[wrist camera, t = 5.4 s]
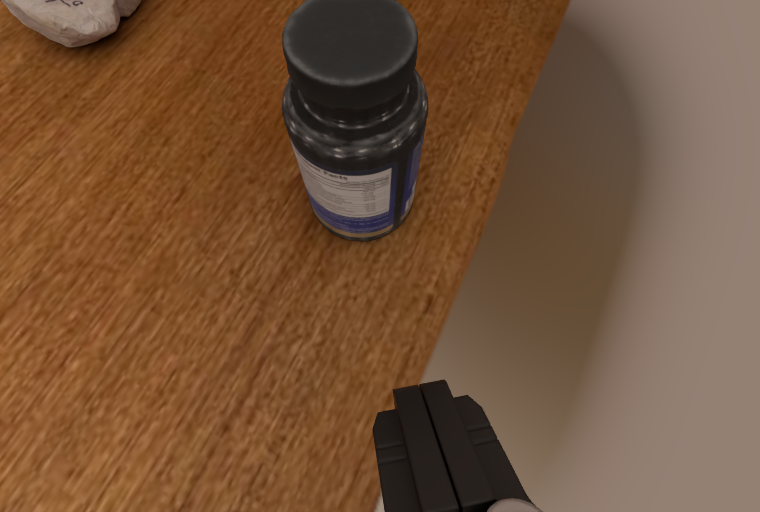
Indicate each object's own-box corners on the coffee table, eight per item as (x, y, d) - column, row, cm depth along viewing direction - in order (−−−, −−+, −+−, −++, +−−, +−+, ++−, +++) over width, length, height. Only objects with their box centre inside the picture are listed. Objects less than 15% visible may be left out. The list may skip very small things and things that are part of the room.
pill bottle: (362, 140, 25) (353, -49, 15) (434, 198, 24) (478, 30, 13) (289, 199, 23) (223, 31, 13) (361, 266, 22) (347, 133, 12)
